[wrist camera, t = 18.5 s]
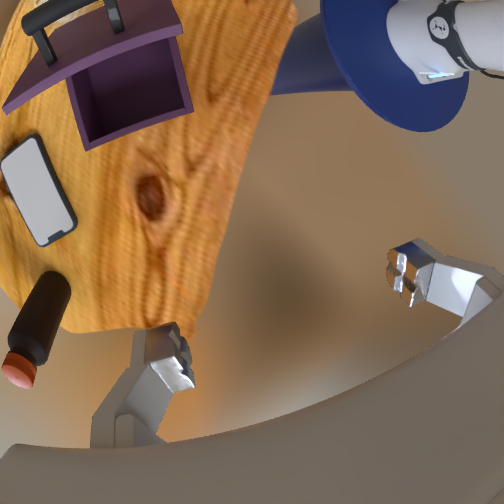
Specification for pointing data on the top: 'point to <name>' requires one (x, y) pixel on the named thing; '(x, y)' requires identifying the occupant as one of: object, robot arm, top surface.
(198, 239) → the top surface
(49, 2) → the lid
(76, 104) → the purple box
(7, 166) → the smartphone
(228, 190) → the top surface
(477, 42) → the robot arm
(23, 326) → the bottle
